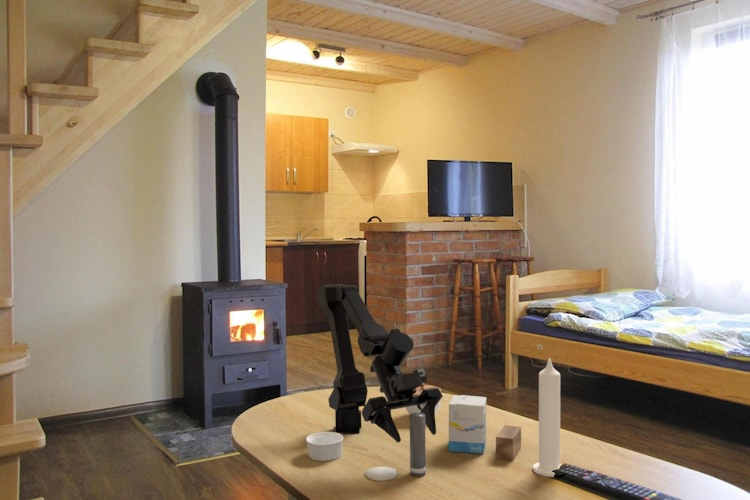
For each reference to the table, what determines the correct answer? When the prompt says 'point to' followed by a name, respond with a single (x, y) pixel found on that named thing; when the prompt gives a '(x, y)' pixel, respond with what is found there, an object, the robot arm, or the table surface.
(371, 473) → the pad
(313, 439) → the ramekin
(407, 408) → the lidded jar
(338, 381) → the robot arm
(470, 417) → the ink box
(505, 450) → the brown wooden block
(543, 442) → the candle
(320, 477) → the table surface
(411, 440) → the grey tapered rod
